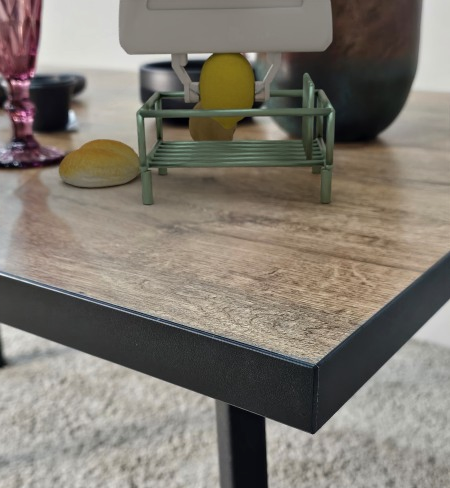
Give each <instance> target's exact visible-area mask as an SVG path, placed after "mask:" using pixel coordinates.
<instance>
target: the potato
mask: <svg viewBox="0 0 450 488" xmlns="http://www.w3.org/2000/svg"><path fill="white" fill-rule="evenodd" d="M192 109H203V106H202V104H201V100H200V102H196V104H195V106H194V107H193V108H192ZM237 126H238V122H236V123H235V124H234V126H233V127H232V128H231V129H225V128H224V127H223V126H222V125H221V124H220V123H219V122H217V121H215V120H213V119H212V118H210V117H189V120H188V131H189V135H190V137H191V139H192V141H234V135H235V133H236V130H237Z"/></svg>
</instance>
